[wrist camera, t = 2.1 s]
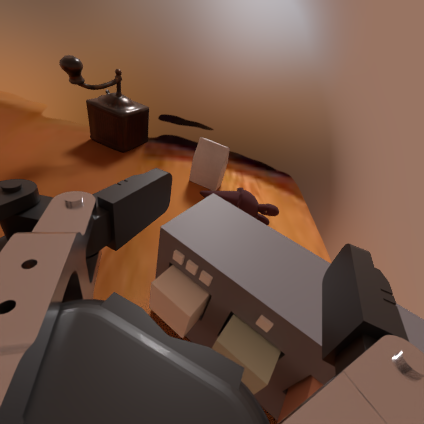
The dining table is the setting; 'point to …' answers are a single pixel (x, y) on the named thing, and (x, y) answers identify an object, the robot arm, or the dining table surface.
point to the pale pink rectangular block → (209, 164)
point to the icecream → (246, 203)
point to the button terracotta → (298, 395)
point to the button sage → (248, 352)
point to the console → (257, 289)
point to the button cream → (178, 300)
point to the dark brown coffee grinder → (111, 112)
